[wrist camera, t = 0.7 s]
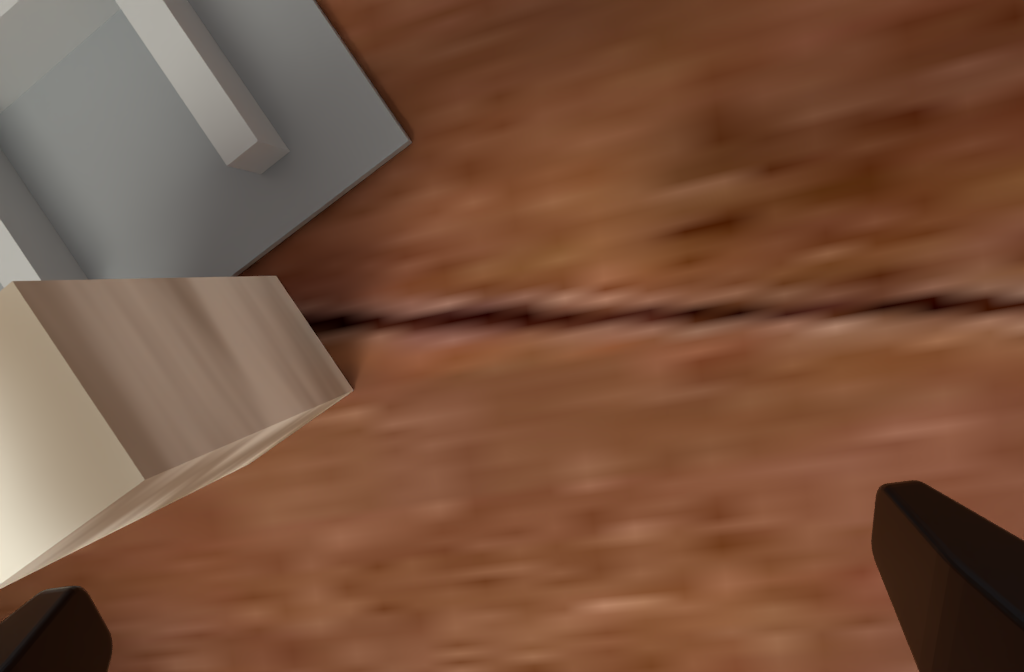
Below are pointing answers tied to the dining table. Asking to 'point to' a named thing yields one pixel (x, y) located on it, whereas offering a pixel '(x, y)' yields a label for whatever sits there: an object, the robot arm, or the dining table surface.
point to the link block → (141, 399)
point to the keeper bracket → (174, 134)
